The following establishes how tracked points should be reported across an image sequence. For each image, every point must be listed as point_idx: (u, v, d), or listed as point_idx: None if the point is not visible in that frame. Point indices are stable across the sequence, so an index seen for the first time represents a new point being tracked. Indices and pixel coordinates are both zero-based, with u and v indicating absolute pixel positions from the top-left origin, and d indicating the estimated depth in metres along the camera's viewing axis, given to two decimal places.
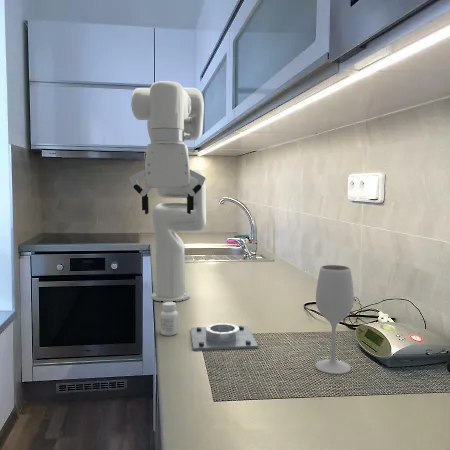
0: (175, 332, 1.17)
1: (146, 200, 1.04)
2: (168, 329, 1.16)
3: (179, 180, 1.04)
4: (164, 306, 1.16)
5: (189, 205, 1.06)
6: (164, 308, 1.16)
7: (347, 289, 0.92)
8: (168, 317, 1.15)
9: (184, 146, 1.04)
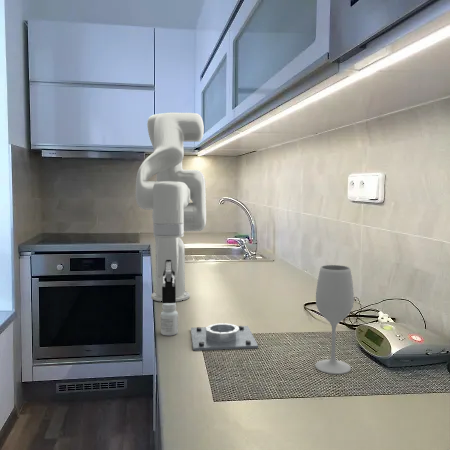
0: (175, 332, 1.17)
1: None
2: (168, 329, 1.16)
3: None
4: (164, 306, 1.16)
5: None
6: (164, 308, 1.16)
7: (347, 289, 0.92)
8: (168, 317, 1.15)
9: None
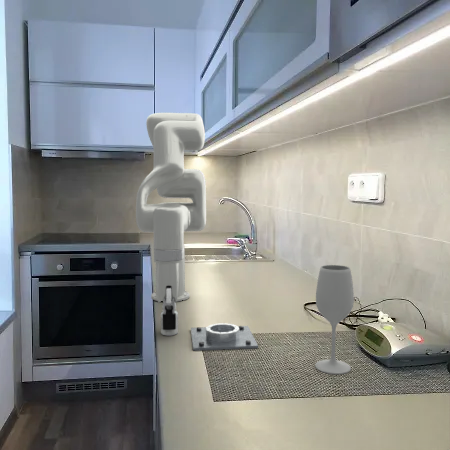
0: (175, 332, 1.17)
1: None
2: None
3: None
4: None
5: None
6: None
7: (347, 289, 0.92)
8: None
9: None
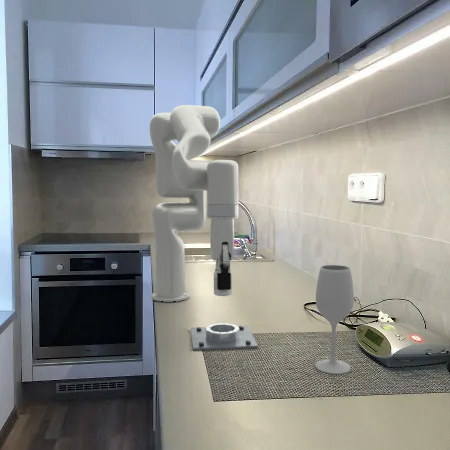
0: (229, 293, 1.11)
1: None
2: None
3: None
4: None
5: None
6: None
7: (347, 289, 0.92)
8: None
9: None
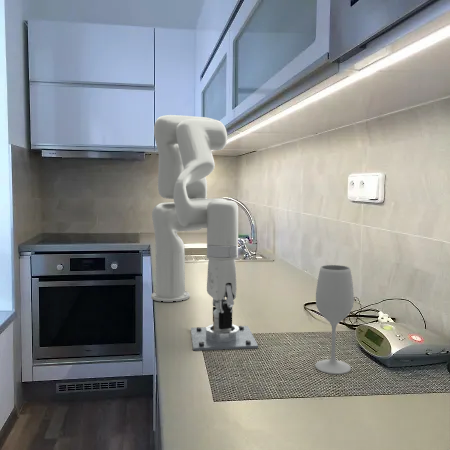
0: (229, 331, 1.13)
1: None
2: None
3: None
4: (219, 304, 1.12)
5: None
6: (218, 307, 1.12)
7: (347, 289, 0.92)
8: None
9: None
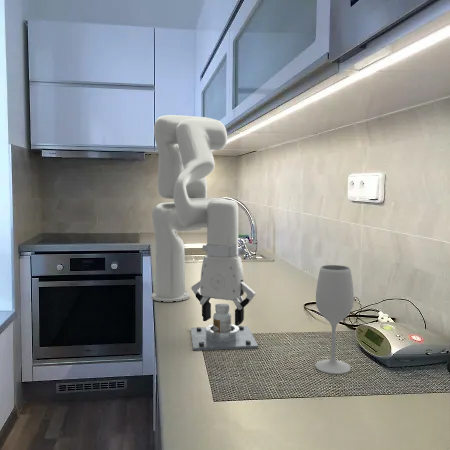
0: None
1: None
2: (230, 330, 1.13)
3: None
4: (224, 308, 1.12)
5: None
6: (224, 310, 1.12)
7: (347, 289, 0.92)
8: (229, 318, 1.12)
9: None
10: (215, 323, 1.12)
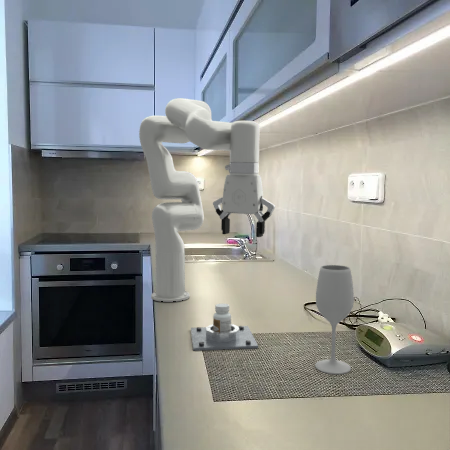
0: None
1: None
2: (230, 330, 1.13)
3: None
4: (224, 308, 1.12)
5: None
6: (224, 310, 1.12)
7: (347, 289, 0.92)
8: (229, 318, 1.12)
9: None
10: (215, 323, 1.12)
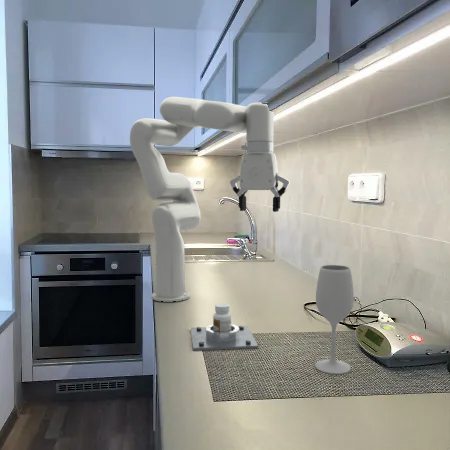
0: None
1: None
2: (230, 330, 1.13)
3: None
4: (224, 308, 1.12)
5: None
6: (224, 310, 1.12)
7: (347, 289, 0.92)
8: (229, 318, 1.12)
9: None
10: (215, 323, 1.12)
